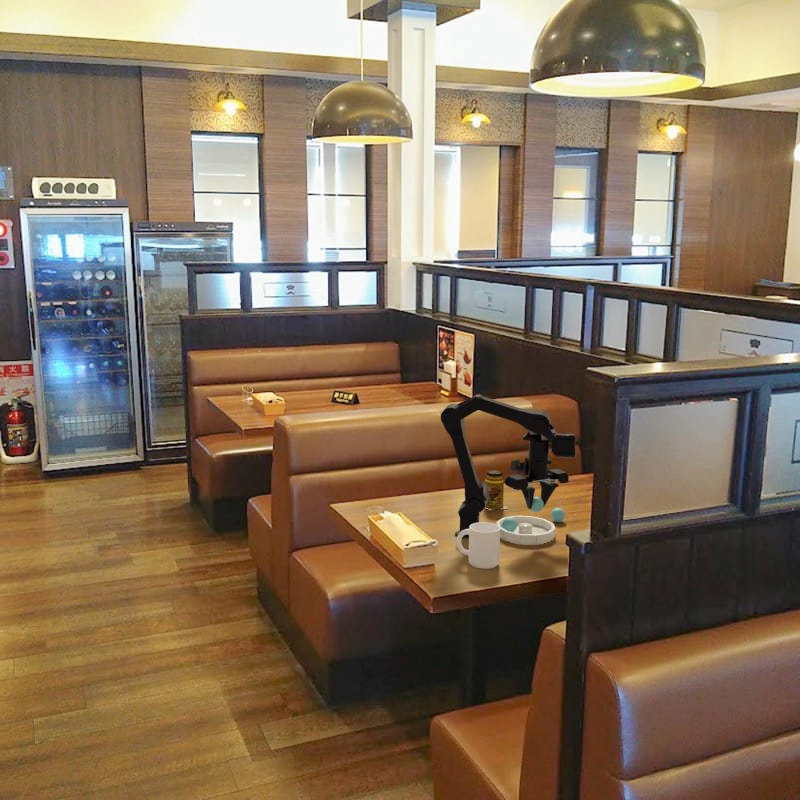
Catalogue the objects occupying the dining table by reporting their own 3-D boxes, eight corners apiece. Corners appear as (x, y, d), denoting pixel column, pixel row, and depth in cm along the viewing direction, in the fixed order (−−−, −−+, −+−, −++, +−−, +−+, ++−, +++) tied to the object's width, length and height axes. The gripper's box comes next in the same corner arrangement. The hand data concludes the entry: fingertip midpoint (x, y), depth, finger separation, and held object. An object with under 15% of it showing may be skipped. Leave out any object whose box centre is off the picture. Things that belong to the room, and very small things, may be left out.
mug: (450, 563, 228) (451, 527, 226) (461, 553, 235) (462, 518, 233) (493, 571, 223) (494, 534, 221) (502, 560, 230) (504, 524, 228)
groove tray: (540, 549, 239) (540, 539, 238) (486, 537, 248) (486, 527, 247) (563, 532, 253) (563, 522, 252) (511, 521, 262) (511, 512, 261)
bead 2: (544, 510, 246) (545, 495, 245) (542, 514, 242) (542, 500, 241) (529, 508, 247) (530, 494, 246) (526, 513, 243) (527, 498, 242)
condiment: (487, 511, 271) (489, 475, 269) (477, 503, 279) (478, 468, 277) (508, 509, 274) (510, 473, 271) (498, 501, 282) (499, 466, 279)
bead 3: (561, 525, 259) (562, 511, 258) (548, 522, 261) (548, 508, 261) (567, 521, 263) (567, 507, 262) (553, 518, 265) (554, 505, 264)
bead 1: (512, 535, 247) (513, 521, 246) (499, 532, 250) (499, 518, 249) (519, 531, 251) (519, 517, 250) (505, 528, 253) (506, 514, 252)
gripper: (547, 445, 252) (545, 495, 255) (495, 452, 244) (493, 503, 247) (571, 454, 243) (568, 506, 246) (517, 461, 234) (515, 515, 237)
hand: (535, 507), depth 244 cm, fingers closed on bead 2, 4 cm apart
